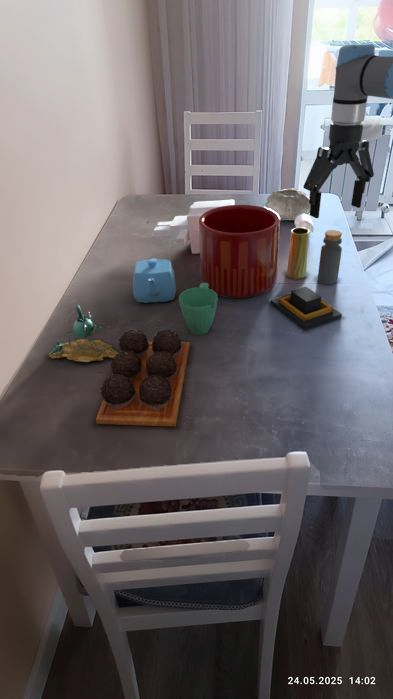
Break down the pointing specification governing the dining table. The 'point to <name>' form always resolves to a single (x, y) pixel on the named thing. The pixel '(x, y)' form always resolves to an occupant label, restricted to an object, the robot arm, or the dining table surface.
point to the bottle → (330, 257)
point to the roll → (304, 222)
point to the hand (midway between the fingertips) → (335, 211)
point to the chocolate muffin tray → (145, 380)
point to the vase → (298, 253)
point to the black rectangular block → (305, 300)
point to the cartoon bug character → (83, 343)
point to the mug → (198, 308)
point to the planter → (239, 250)
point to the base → (308, 320)
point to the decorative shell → (288, 203)
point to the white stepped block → (188, 224)
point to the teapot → (154, 281)
